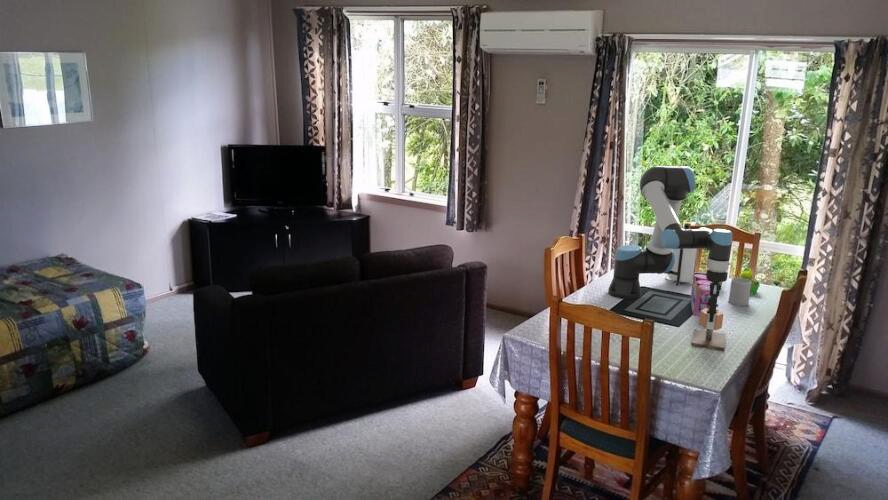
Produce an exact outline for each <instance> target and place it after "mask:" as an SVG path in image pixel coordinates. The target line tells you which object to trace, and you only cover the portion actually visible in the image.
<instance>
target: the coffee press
mask: <svg viewBox="0 0 888 500" xmlns="http://www.w3.org/2000/svg"><path fill="white" fill-rule="evenodd" d="M683 229H685V230H694V229H693V228H690V225H689V224H688V223H686V224H684V227H683ZM672 250H673V252H674V254H675V258H674V259H675V262H674V266H673V268H672V269H671V271H669V272H668V273H664V274H665V275H667V276H668V278H667V277H665V278H664V279H665V281H668V280H671V281H674V282H675V286H678V287H679V286H680V283H691V284H692V281H693V274H694V272H695V273H696V266H697V265H696V264H697V256H698V249H690V248H688V249H672Z"/></svg>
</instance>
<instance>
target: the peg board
mask: <svg viewBox="0 0 888 500" xmlns="http://www.w3.org/2000/svg"><path fill="white" fill-rule="evenodd" d="M691 337H692V338H691V343H690V346H691V347H698V348H704V349H709V350H710V349H711V350H716V351H722V352H725V349H726V348H725V347H726V333H722V332H717V331H714V330H711V329H706V330H704V329H698V328H696V329H695V328H693V331H692V336H691Z"/></svg>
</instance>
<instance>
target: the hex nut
mask: <svg viewBox="0 0 888 500" xmlns="http://www.w3.org/2000/svg"><path fill="white" fill-rule="evenodd" d="M708 311H709V309H708V308H706V309H703V310H701V312H700V316H699V322H698V325H699V326H700V327H702V328H703V330H704V329H706V327H707V319H708V313H707V312H708ZM711 311H712V310H711ZM723 319H724V313H723V312H722V311H721V310H719V309H716V316H715V324H714V330H713V331H717V330H720V329H722V328H723V322H724V321H723ZM706 330H707V329H706Z"/></svg>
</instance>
